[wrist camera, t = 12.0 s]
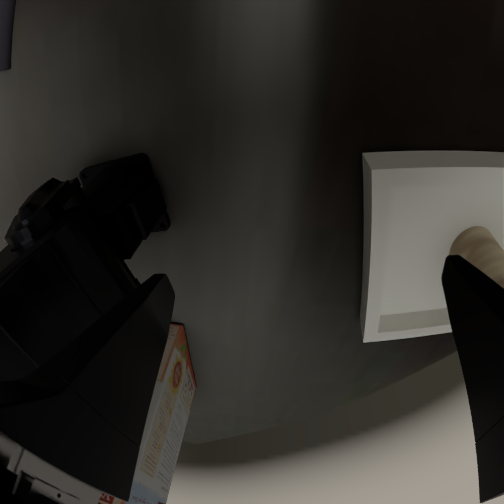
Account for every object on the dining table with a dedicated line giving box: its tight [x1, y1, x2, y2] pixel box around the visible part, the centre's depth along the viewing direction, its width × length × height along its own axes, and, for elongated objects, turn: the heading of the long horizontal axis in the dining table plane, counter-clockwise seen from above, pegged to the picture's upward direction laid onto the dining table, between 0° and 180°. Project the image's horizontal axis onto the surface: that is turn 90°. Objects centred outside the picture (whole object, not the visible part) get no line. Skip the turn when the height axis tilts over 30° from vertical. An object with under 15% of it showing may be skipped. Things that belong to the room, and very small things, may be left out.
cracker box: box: [99, 323, 196, 504], centre depth 29 cm, size 14×6×21 cm, turn 177°
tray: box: [360, 151, 504, 343], centre depth 21 cm, size 16×16×3 cm
